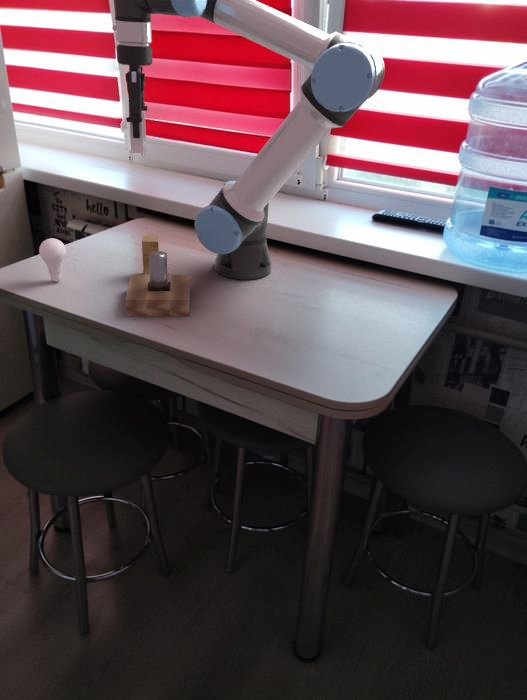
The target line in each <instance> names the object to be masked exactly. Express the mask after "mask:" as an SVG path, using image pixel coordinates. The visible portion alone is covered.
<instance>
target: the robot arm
mask: <svg viewBox="0 0 527 700" xmlns="http://www.w3.org/2000/svg"><path fill="white" fill-rule="evenodd" d="M113 7H114V8H113V10H114V23H115V25H112V27H111V28H112V30H113V31H114V32H115V31H116V32H115V38H116V39H115V40H116V41H117V42H118V44H117V45H116V59H117V60H116V61H117V63H118V64H120V65H124V66H125V65H127V66H129V67H128V71H127V72H126V74H125V80H126V85H127V86H126V90H127V94H128V113H129V114H128V117H126V118H125V120H126V123H129V132H130V135H129V136H130V139H129V140H130V153H132V154H133V153H134V154H144V141H147V136H146V135H147V133H146V131H147V129H146V112H148V106H147V105H146V103H145V93H144V92H145V89H146V88H145V82H146V74H145V72H144V73H143V71H144V70H143V69H144V68H143V67H145V66H146V67H147V66H151V65H152V64H153V48H152V47H151V45H150V44H152V42H153V38H152V37H153V36H152V33H153V32H152V30H153V29H152V15H164V16H175V17H182V18H195V17H196V18H197V17H198V18H199V17H200V18H201V19H204V20H205V21H208V22H211V23H212V24H216V25H218V26H220V27H221V28H224V29H226V30H228V31H230V32H232V33H234V34H237V35H239V36H241V37H242V38H245V39H247V40H249V41H251V42H253V43H256V44H258V45H260V46H261V47H264V48H266V49H269V50H270V51H272V52H274V53H277V54H279V55H280V56H283V57H285V58H287V59H290V60H291V61H294V62H295V63H298V64H300V65H301V66H304V67H306V68H308V69H310V70H311V73H310V74H309V76H308V77H307V78H306V80H305V81H304V82H303V83H302V85H301V86H300V89H299V90H300V100H298V102H297V103H296V105H294V107H293V109H292V110H291V111H290V112H289V113H288V115H287V116H286V117H285V119H284V120H283V121H282V122H281V124H280V125H279V126H278V128H277V129H275V132H274V133H273V134H272V135H271V136H270V138H269V139H268V140H267V141H266V143H265V144H264V145H263V147H262V148H261V149H260V150H259V151H258V153H257V154H256V155H255V157H254V158H253V160H251V162H250V163H249V164H248V165H247V167H246V168H245V170H244V171H243V172H242V173H241V175H240V176H239V177H238V178H237V179H236V180H229V181H226V182H224V184H223V187H222V188H221V189H220V190H219V191H218V193H217V194H216V195H215V197H214V198H213V199H212V200H211V202H210V203H209V204H208V205H207V206H205V207H203V208H201V210H200V211H199V212H198V214H197V215H196V218H195V221H194V229H195V235H196V237H197V239H198V241H199V242H200V243H201V245H202V246H203V247H204V248H205V249H206V250H207V251H209V252H212V253H213V254H216V256H215V261H214V263H215V264H214V269H215V270H216V272H217V273H218V274H219V275H221V276H223V277H227V278H231V279H235V280H256V279H260V278H264V277H266V276H268V275H270V273H271V272H272V259H271V255H270V251H269V248H268V243H267V235H268V234H267V233H268V221H269V220H268V218H269V217H268V216H269V205H270V203H269V202H270V201H271V200H272V199H273V198H274V197H275V195H276V194H277V193H278V192H279V191H280V189H282V188H283V187H284V185H285V184H286V182H288V180H289V179H290V178H291V177H292V175H293V174H294V173H295V172H296V171H297V169H298V168H299V167H301V165H302V164H303V162H304V161H306V159H307V158H308V157H309V156H310V154H312V152H313V151H314V150H315V148H317V146H318V145H319V144H320V143H321V142H322V141H323V139H324V138H325V137H326V136H327V134H328V133H329V132H330V131H331V130H332V129H336V128H337V129H338V128H343V127H344V126H345V124H347V123H348V121H349V120H350V119H351V118H352V117H353V116H354V114H355V113H356V112H357V111H358V110H359V109H360V108H361V106H362V105H363V104H364V103H365V102H366V101H367V100H369V99H370V98H372V97H373V96H374V95H375V94H376V93H377V92H378V91H379V89H380V88H381V86H382V83H383V80H384V78H385V70H386V69H385V62H384V60H383V57H382V55H381V53H380V51H379V50H378V48H376V47H375V46H374V45H373V44H370V43H369V42H366V41H363V40H360V39H355V38H353V37H350V36H347V35H345V34H342V33H340V32H337V31H335V32H333V33H330V34H329V33H327V32H325V31H323V30H320V29H319V28H316V27H314V26H312V25H310V24H307V23H305V22H303V21H301V20H298V19H297V18H294V17H292V16H289V15H288V14H286V13H283V12H282V11H279V10H277V9H275V8H273V7H270V6H269V5H266V4H264V3H262V2H259V1H258V0H113Z"/></svg>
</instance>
